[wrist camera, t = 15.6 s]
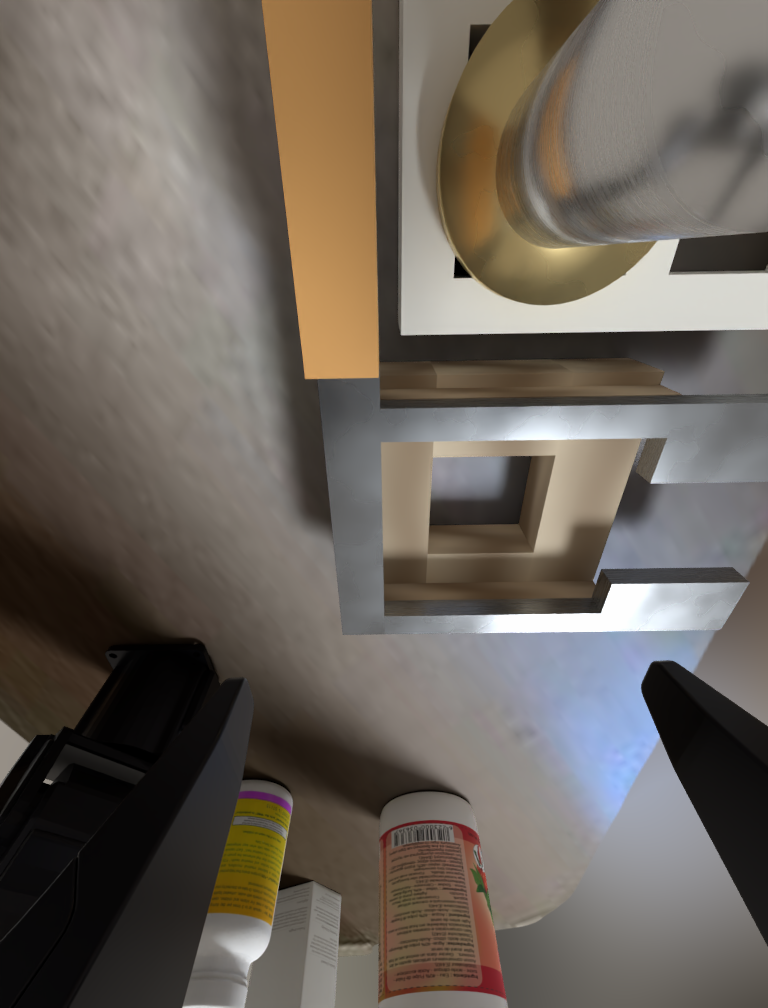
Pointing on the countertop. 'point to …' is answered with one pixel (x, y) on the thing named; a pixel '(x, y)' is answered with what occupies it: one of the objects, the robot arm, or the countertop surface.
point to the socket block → (548, 494)
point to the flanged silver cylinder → (603, 139)
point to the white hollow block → (430, 260)
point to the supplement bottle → (242, 897)
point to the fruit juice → (435, 908)
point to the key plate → (369, 421)
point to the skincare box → (299, 951)
